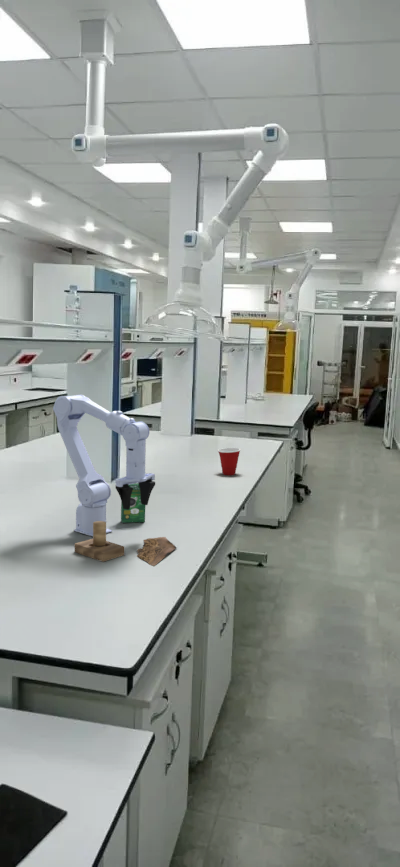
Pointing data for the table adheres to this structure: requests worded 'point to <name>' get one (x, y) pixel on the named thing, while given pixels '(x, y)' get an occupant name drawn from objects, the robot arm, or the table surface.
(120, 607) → the table surface
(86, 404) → the robot arm
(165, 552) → the wooden fragment
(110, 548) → the board
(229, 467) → the plastic cup
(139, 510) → the coffee box
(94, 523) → the peg
